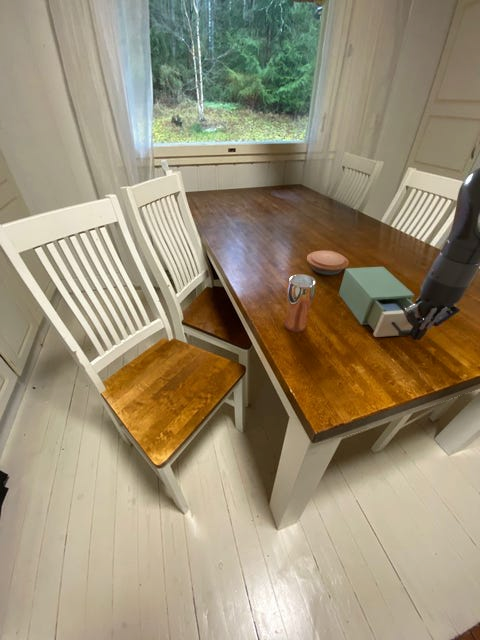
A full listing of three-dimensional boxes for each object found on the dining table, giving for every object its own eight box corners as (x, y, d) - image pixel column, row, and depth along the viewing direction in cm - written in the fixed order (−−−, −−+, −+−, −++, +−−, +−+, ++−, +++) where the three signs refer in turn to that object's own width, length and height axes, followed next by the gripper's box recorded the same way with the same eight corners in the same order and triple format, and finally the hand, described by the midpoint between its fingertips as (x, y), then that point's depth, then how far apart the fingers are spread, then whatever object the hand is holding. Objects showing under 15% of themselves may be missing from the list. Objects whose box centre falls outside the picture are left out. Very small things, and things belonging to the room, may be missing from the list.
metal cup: (279, 319, 81) (284, 275, 72) (300, 316, 82) (308, 272, 73) (288, 334, 76) (295, 289, 66) (311, 330, 77) (321, 285, 68)
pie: (348, 280, 99) (351, 267, 96) (305, 275, 102) (307, 263, 98) (344, 261, 111) (347, 249, 108) (305, 257, 113) (307, 246, 110)
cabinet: (401, 322, 81) (414, 295, 75) (361, 325, 79) (371, 297, 73) (373, 291, 93) (383, 266, 87) (338, 293, 92) (345, 268, 86)
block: (399, 326, 76) (405, 312, 73) (383, 327, 76) (389, 314, 73) (389, 316, 80) (395, 303, 77) (375, 317, 79) (380, 304, 76)
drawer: (425, 346, 71) (439, 323, 66) (384, 349, 70) (395, 326, 65) (384, 301, 87) (393, 280, 82) (350, 304, 86) (357, 282, 81)
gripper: (432, 287, 53) (398, 350, 63) (493, 284, 54) (450, 346, 65) (408, 269, 58) (381, 329, 69) (464, 266, 60) (429, 326, 71)
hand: (414, 337), depth 67 cm, fingers closed
